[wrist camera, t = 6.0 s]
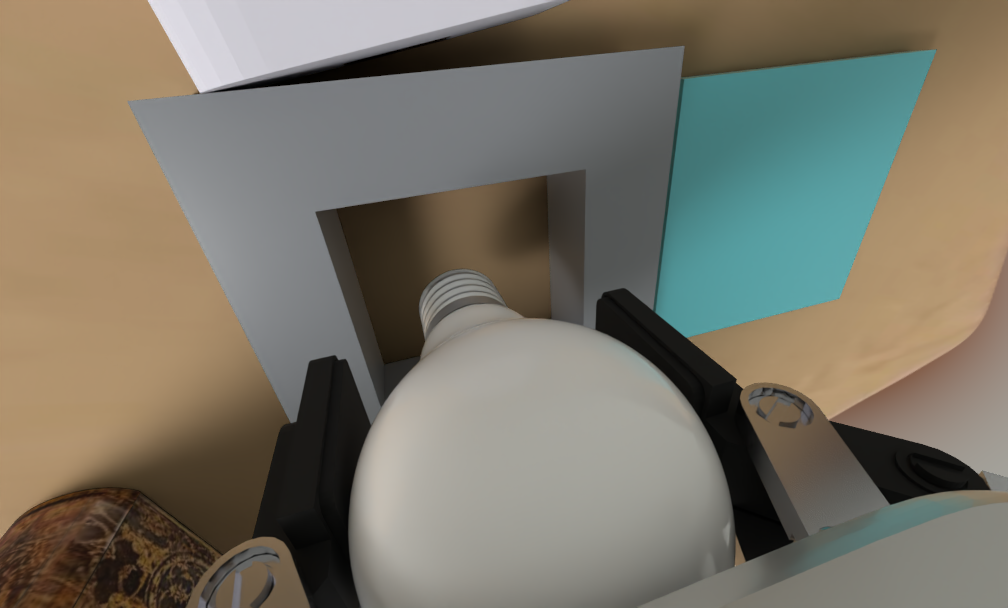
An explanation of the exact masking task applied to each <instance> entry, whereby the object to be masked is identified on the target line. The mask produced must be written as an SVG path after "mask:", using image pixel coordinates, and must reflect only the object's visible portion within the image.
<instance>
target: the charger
mask: <svg viewBox="0 0 1008 608" xmlns="http://www.w3.org/2000/svg"><path fill="white" fill-rule="evenodd" d="M567 1H569V0H148V2H149V3H150V5H151V7H152V9H153V11H154V12H155V14H156V16H157V18H158V19H159V21H160V23H161V25H162V26H163V28H164V30H165V32H166V34H167V35H168V37H169V39H170V41H171V42H172V44H173V46H174V48H175V49H176V51H177V53H178V55H179V57H180V58H181V60H182V62H183V64H184V65H185V67H186V69H187V71H188V73H189V74H190V76H191V78H192V80H193V81H194V83H195V85H196V87H197V88H198V90H199V92H200V94H203V93H215V92H225V91H235V90H245V89H252V88H257V87H261V86H265V85H270V84H274V83H278V82H282V81H286V80H290V79H294V78H298V77H302V76H306V75H310V74H314V73H318V72H322V71H326V70H330V69H334V68H338V67H342V66H346V65H343V64H344V63H348V62H352V61H356V60H360V59H364V58H368V57H371V56H375V55H379V54H383V53H387V52H391V51H395V50H399V49H402V48H406V47H410V46H414V45H418V44H422V43H426V42H430V41H433V40H437V39H441V38H445V37H449V36H451V37H449V38H447V39H450V38H454V37H458V36H461V35H465V34H469V33H472V32H476V31H480V30H484V29H487V28H491V27H495V26H498V25H502V24H506V23H509V22H513V21H516V20H520V19H523V18H527V17H530V16H533V15H536V14H539V13H541V12H543V11H546V10H548V9H550V8H553V7H555V6H557V5H560V4H562V3H565V2H567ZM447 39H445V40H447ZM441 41H443V40H441ZM437 42H439V41H437ZM433 43H435V42H433ZM430 44H431V43H430ZM426 45H427V44H426ZM422 46H424V45H422ZM418 47H420V46H418ZM414 48H416V47H414ZM410 49H412V48H410ZM406 50H408V49H406ZM403 51H404V50H403ZM399 52H400V51H399ZM395 53H397V52H395ZM391 54H393V53H391ZM387 55H389V54H387ZM383 56H385V55H383ZM379 57H381V56H379ZM375 58H377V57H375ZM372 59H373V58H372ZM368 60H370V59H368ZM364 61H366V60H364ZM360 62H362V61H360ZM356 63H358V62H356ZM352 64H354V63H352ZM348 65H350V64H348Z"/></svg>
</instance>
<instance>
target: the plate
mask: <svg viewBox="0 0 1008 608" xmlns="http://www.w3.org/2000/svg"><path fill="white" fill-rule="evenodd" d="M936 50H937V49H935V50H917V51H905V52H896V53H888V54H879V55H871V56H862V57H853V58H845V59H836V60H828V61H819V62H811V63H802V64H793V65H785V66H776V67H768V68H759V69H750V70H742V71H733V72H725V73H716V74H707V75H699V76H690V77H682V78H681V80H680V89H679V97H678V105H677V114H676V122H675V130H674V139H673V147H672V155H671V164H670V172H669V180H668V189H667V197H666V205H665V214H664V222H663V230H662V239H661V247H660V256H659V264H658V272H657V281H656V289H655V297H654V306H653V311H654V312H655V313H656V314H658V315H659V316H660V317H661V318H663V319H664V320H665V321H666V322H667V323H669V324H670V325H671V326H672V327H674V328H675V329H676V330H677V331H678V332H680V333H681V334H682V335H683V336H685V337H686V338H687V337H691V336H695V335H699V334H703V333H707V332H710V331H714V330H718V329H722V328H726V327H730V326H734V325H738V324H742V323H746V322H750V321H753V320H757V319H761V318H765V317H769V316H773V315H777V314H781V313H785V312H789V311H793V310H796V309H800V308H804V307H808V306H812V305H816V304H820V303H824V302H828V301H832V300H836V299H839V298H840V295H841V293H842V290H843V288H844V285H845V283H846V280H847V277H848V275H849V272H850V270H851V267H852V265H853V262H854V260H855V257H856V254H857V252H858V249H859V247H860V244H861V242H862V239H863V237H864V234H865V231H866V229H867V226H868V224H869V221H870V219H871V216H872V214H873V211H874V209H875V206H876V203H877V201H878V198H879V196H880V193H881V191H882V188H883V186H884V183H885V180H886V178H887V175H888V173H889V170H890V168H891V165H892V163H893V160H894V157H895V155H896V152H897V150H898V147H899V145H900V142H901V140H902V137H903V134H904V132H905V129H906V127H907V124H908V122H909V119H910V117H911V114H912V111H913V109H914V106H915V104H916V101H917V99H918V96H919V94H920V91H921V88H922V86H923V83H924V81H925V78H926V76H927V73H928V71H929V68H930V65H931V63H932V60H933V58H934V55H935V53H936Z"/></svg>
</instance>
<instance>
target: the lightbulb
mask: <svg viewBox="0 0 1008 608" xmlns="http://www.w3.org/2000/svg"><path fill="white" fill-rule="evenodd" d="M419 314H420V318H421V323H422V328H423V332H424V337H425V344H424V346H423V349H422V352H421V356H420V361H419V362H418V363H417V364H416V365H415V366H414V367H413V368H412V369H411V370H410V371H409V372H408V373H407V374H406V375H405V376H404V377H403V379H402V380H401V381H400V382H399V383H398V384H397V386H396V387H395V388H394V390H393V391H392V392H391V394H390V395H389V396H388V398H387V399H386V401H385V402H384V404H383V405H382V407H381V409H380V410H379V412H378V414H377V416H376V417H375V419H374V421H373V423H372V425H371V427H370V429H369V432H368V434H367V436H366V439H365V441H364V444H363V446H362V449H361V452H360V455H359V458H358V461H357V465H356V469H355V473H354V477H353V482H352V488H351V494H350V502H349V513H348V545H349V556H350V564H351V570H352V576H353V581H354V585H355V589H356V593H357V597H358V600H359V603H360V606H361V608H636V607H638V606H641V605H643V604H646V603H648V602H651V601H653V600H655V599H658V598H660V597H663V596H665V595H667V594H670V593H672V592H675V591H677V590H679V589H682V588H684V587H687V586H689V585H691V584H694V583H696V582H699V581H701V580H703V579H706V578H708V577H711V576H713V575H716V574H718V573H720V572H723V571H725V570H728V569H730V568H733V567H735V556H736V534H735V521H734V512H733V505H732V500H731V495H730V491H729V487H728V483H727V479H726V476H725V472H724V469H723V466H722V464H721V461H720V458H719V456H718V453H717V451H716V448H715V446H714V444H713V442H712V440H711V438H710V436H709V434H708V432H707V430H706V428H705V426H704V424H703V423H702V421H701V419H700V418H699V416H698V414H697V413H696V411H695V410H694V408H693V407H692V406H691V404H690V403H689V401H688V400H687V399H686V397H685V396H684V395H683V394H682V392H681V391H680V390H679V389H678V388H677V386H676V385H675V384H674V383H673V382H672V381H671V380H670V379H669V378H668V377H667V376H666V375H665V374H664V373H663V372H662V371H661V370H660V369H659V368H658V367H657V366H655V365H654V364H653V363H652V362H651V361H649V360H648V359H647V358H645V357H644V356H643V355H641V354H640V353H639V352H637V351H636V350H634V349H633V348H631V347H630V346H628V345H626V344H624V343H623V342H621V341H619V340H617V339H615V338H613V337H611V336H609V335H607V334H605V333H602V332H600V331H597V330H595V329H592V328H589V327H586V326H583V325H579V324H575V323H571V322H566V321H560V320H553V319H543V318H525V317H523V316H522V315H520V314H519V313H517V312H515V311H514V310H511V309H509V308H508V307H507V305H506V304H505V302H504V300H503V299H502V297H501V295H500V293H499V292H498V290H497V289H496V287H495V286H494V284H493V283H492V281H491V280H490V279H489V278H488V277H486V276H485V275H484V274H482V273H480V272H478V271H475V270H471V269H455V270H450V271H447V272H445V273H443V274H441V275H439V276H437V277H436V278H435V279H433V280H432V281H431V282H430V283H429V284H428V285H427V286H426V288H425V289H424V291H423V293H422V295H421V298H420V302H419Z"/></svg>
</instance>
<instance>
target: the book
mask: <svg viewBox="0 0 1008 608" xmlns="http://www.w3.org/2000/svg"><path fill="white" fill-rule="evenodd" d="M222 556H223V555H222V554H220V553H219V552H218V551H216V550H215V549H214V548H213V547H211V546H210V545H209V544H207V543H206V542H205V541H203V540H202V539H201V538H199V537H198V536H197V535H195V534H194V533H193V532H191V531H190V530H189V529H188V528H186V527H185V526H184V525H182V524H181V523H180V522H178V521H177V520H176V519H174V518H173V517H172V516H170V515H169V514H168V513H166V512H165V511H164V510H162V509H161V508H160V507H159V506H157V505H156V504H155V503H153V502H152V501H151V500H149V499H148V498H147V497H145V496H144V495H143V494H141V493H140V491H136V490H131V489H124V488H100V489H91V490H85V491H80V492H75V493H71V494H68V495H64V496H61V497H58V498H55V499H52V500H49V501H47V502H44V503H42V504H40V505H38V506H36V507H34V508H32V509H30V510H29V511H27V512H25V513H24V514H23V515H21V516H20V517H19V518H18V519H17V520H16V521H15V522H14V523H13V524H12V526H11V527H10V528H9V529H8V530H7V532H6V533H5V534H4V535H3V536H2V538H1V539H0V608H187V605H188V602H189V600H190V597H191V594H192V592H193V590H194V588H195V587H196V585H197V584H198V582H199V581H200V579H201V578H202V576H203V575H204V573H205V572H206V571H207V570H208V569H209V568H210V567H211V566H212V565H213V564H214V563H215V562H216V561H217V560H218V559H219V558H220V557H222Z"/></svg>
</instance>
